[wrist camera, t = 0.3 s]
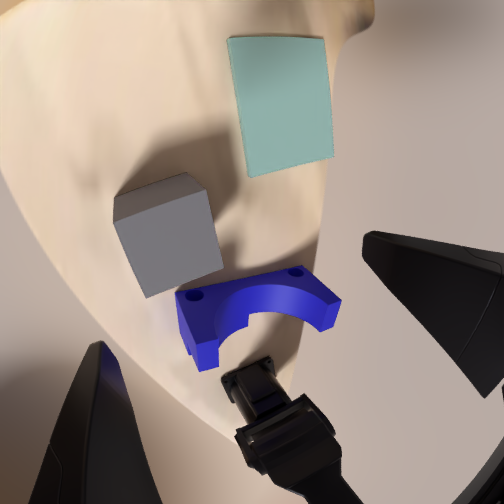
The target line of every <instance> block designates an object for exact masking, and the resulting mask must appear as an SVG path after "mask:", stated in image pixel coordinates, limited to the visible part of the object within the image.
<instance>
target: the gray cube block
mask: <svg viewBox="0 0 504 504" xmlns="http://www.w3.org/2000/svg"><path fill="white" fill-rule="evenodd" d="M113 224H114V227H115V229H116V232H117V234H118V237H119V239H120V242H121V244H122V247H123V249H124V251H125V254H126V256H127V258H128V261H129V263H130V265H131V267H132V270H133V272H134V274H135V276H136V278H137V281H138V283H139V285H140V287H141V289H142V291H143V293H144V295H145V297H146V298H149V297H151V296H154V295H156V294H159V293H161V292H164V291H166V290H169V289H172V288H174V287H177V286H179V285H182V284H184V283H187V282H190V281H192V280H195V279H197V278H200V277H202V276H205V275H207V274H210V273H212V272H215V271H218V270H220V269H223V268H224V265H223V261H222V257H221V253H220V248H219V244H218V240H217V236H216V231H215V227H214V223H213V218H212V214H211V209H210V205H209V200H208V196H207V191H206V189H205V188H204V187H203V186H201V185H200V184H199V183H198V182H197V181H196V180H195V179H194V178H192V177H191V176H190V175H189V174H188V173H187V172H186V173H183V174H180V175H177V176H174V177H170V178H167V179H164V180H161V181H158V182H155V183H153V184H150V185H147V186H144V187H141V188H138V189H136V190H133V191H130V192H127V193H125V194H122V195H119V196H117V197H114V208H113Z"/></svg>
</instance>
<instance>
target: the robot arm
mask: <svg viewBox="0 0 504 504" xmlns="http://www.w3.org/2000/svg"><path fill="white" fill-rule="evenodd" d="M362 257H363V259H364V261H365V262H366V263H367V264H368V266H369V267H370V268H371V269H372V270H373V271H374V273H375V274H376V275H377V276H378V277H379V279H380V280H381V281H382V282H383V284H384V285H385V286H386V287H387V288H388V289H389V290H390V291H391V293H392V294H393V295H394V296H395V297H397V299H398V300H399V301H400V302H401V303H402V304H403V305H404V306H405V307H406V308H407V309H408V310H409V311H410V312H411V314H412V315H413V316H414V317H415V318H416V319H417V320H418V321H419V322H420V323H421V324H422V325H423V326H424V328H425V329H426V330H427V331H428V332H429V333H430V334H431V335H432V337H433V338H434V339H435V340H436V341H437V342H438V343H439V344H440V346H441V347H442V348H443V349H444V350H445V351H446V353H447V354H448V355H449V356H450V357H451V358H452V360H453V361H454V362H455V363H456V365H457V366H458V367H459V368H460V369H461V371H462V372H463V373H464V374H465V376H466V377H467V378H468V379H469V381H470V382H471V383H472V384H473V386H474V387H475V388H476V389H477V391H478V392H479V393H480V395H481V396H482V397H483V398H486V397H487V396H488V395H489V394H490V392H492V390H493V389H494V388H495V387H496V386H497V385H498V384H499V383H500V381H501V380H502V379H503V378H504V253H500V252H493V251H486V250H481V249H476V248H470V247H465V246H460V245H455V244H449V243H444V242H438V241H433V240H427V239H422V238H416V237H411V236H405V235H398V234H392V233H386V232H380V231H371V232H368V233H366V234H365V235H364V237H363V247H362ZM221 383H222V385H223V387H224V389H225V391H226V393H227V395H228V397H229V399H230V401H231V403H236V405H237V407H238V408H239V410H240V412H241V414H242V416H243V417H244V419H245V421H246V423H247V424H248V425H246V426H244V427H242V428H238V429H236V432H237V434H236V435H235V436H234V437H235V439H236V441H237V443H238V445H239V447H240V449H241V451H242V454H243V456H244V459H245V461H246V463H247V465H248V467H250V468H254V469H256V470H257V471H259V473H260V474H261V475H265V474H268V475H269V477H270V478H271V480H272V481H273V483H274V484H275V485H277V486H279V487H282V488H284V489H286V490H288V491H290V492H293V493H295V494H297V495H300V496H302V497H304V498H305V499H306V501H307V502H308V504H363V502H362V501H361V500H360V499H359V497H358V496H357V495H356V494H355V492H354V491H353V490H352V489H351V488H350V486H349V485H348V484H347V482H346V481H345V480H344V478H343V477H342V476H341V457H342V451H341V446H340V445H339V443H338V442H337V441H336V439H335V438H334V436H335V434H336V433H335V430H334V428H333V426H332V424H331V423H330V421H329V420H328V419H327V417H326V416H325V415H324V414H323V413H322V412H321V411H320V409H319V408H318V407H317V406H316V405H315V404H314V403H313V402H312V401H311V400H310V399H309V398H308V397H307V396H306V395H305V394H302V395H300V397H299V398H297V399H295V400H293V401H291V399H290V398H289V396H288V395H287V393H286V392H285V391H284V389H283V388H282V386H281V385H280V383H279V382H278V381H277V379H276V378H275V371H274V364H273V359H272V358H271V357H266V358H264V359H262V360H260V361H258V362H256V363H254V364H252V365H250V366H248V367H245V368H243V369H241V370H239V371H237V372H234V373H232V374H230V375H228V376H225V377H223V378H222V379H221ZM502 393H503V400H504V384H503V386H502ZM251 441H253V442H251ZM28 504H163V503H162V501H161V498H160V496H159V493H158V490H157V488H156V485H155V483H154V480H153V477H152V474H151V471H150V468H149V465H148V462H147V458H146V455H145V452H144V449H143V445H142V442H141V438H140V434H139V431H138V427H137V423H136V419H135V415H134V411H133V407H132V404H131V401H130V398H129V395H128V392H127V389H126V386H125V383H124V379H123V376H122V373H121V369H120V366H119V363H118V360H117V359H116V357H115V356H114V354H113V353H112V352H111V350H110V349H109V347H108V346H107V345H106V344H105V342H104V341H98V342H95V343H92V344H90V346H89V347H88V349H87V352H86V354H85V356H84V358H83V360H82V362H81V365H80V366H79V368H78V371H77V373H76V375H75V377H74V380H73V382H72V384H71V387H70V389H69V391H68V394H67V396H66V399H65V401H64V403H63V406H62V408H61V411H60V413H59V416H58V419H57V422H56V424H55V427H54V430H53V433H52V435H51V438H50V444H48V447H47V450H46V453H45V456H44V459H43V462H42V465H41V468H40V472H39V474H38V477H37V480H36V483H35V485H34V488H33V491H32V494H31V497H30V500H29V503H28ZM452 504H504V437H503V439H502V440H501V442H500V444H499V445H498V447H497V448H496V449H495V451H494V452H493V454H492V455H491V457H490V458H489V459H488V461H487V462H486V463H485V465H484V466H483V468H482V469H481V470H480V471H479V473H478V474H477V475H476V477H475V478H474V479H473V480H472V481H471V483H470V484H469V485H468V486H467V487H466V489H465V490H464V491H463V492H462V493H461V494H460V495H459V496H458V498H457V499H456V500H455V501H454V502H453V503H452Z"/></svg>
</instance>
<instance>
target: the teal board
mask: <svg viewBox="0 0 504 504" xmlns="http://www.w3.org/2000/svg"><path fill="white" fill-rule="evenodd" d="M227 44H228V50H229V57H230V63H231V69H232V75H233V82H234V88H235V94H236V101H237V107H238V114H239V120H240V127H241V133H242V140H243V146H244V153H245V159H246V166H247V172H248V176H249V177H250V178H253V177H256V176H260V175H263V174H267V173H271V172H275V171H278V170H282V169H286V168H290V167H294V166H298V165H302V164H306V163H310V162H315V161H319V160H323V159H328V158H332V157H334V147H333V146H334V144H333V127H332V111H331V99H330V88H329V78H328V69H327V61H326V53H325V46H324V39H314V38H300V37H236V38H229V39H227Z"/></svg>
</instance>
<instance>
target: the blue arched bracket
mask: <svg viewBox="0 0 504 504" xmlns="http://www.w3.org/2000/svg"><path fill="white" fill-rule="evenodd" d="M175 299H176V307H177V314H178V322H179V329H180V334H181V336H182V339H183V342H184V344H185V347H186V349H187V352H188V354H189V355H192V356H193V359H194V361H195V363H196V366H197V368H198V370H199V372H201V371H205V370H209V369H213V368H216V367H219V351H218V348H219V347H220V345H221V344H222V342H223V341H224V340H225V339H226V338H227V337H228V336H230V335H231V334H232V333H234V332H236V331H237V330H239V329H242V328H244V327H248V319H249V314H252V313H258V312H278V313H284V314H289V315H292V316H295V317H298V318H300V319H302V320H304V321H306V322H308V323H309V324H311V325H312V326H314V327H315V328H316V329H317V330H318V331H319V332H322V331H325V330H327V329H329V328H332V327H333V326H334V323H335V320H336V317H337V314H338V311H339V308H340V304H341V301H342V300H341V299H340V298H339V297H337V296H336V295H335V294H334V293H333V292H332V291H331V290H330V289H328V288H327V287H326V286H325V285H324V284H323V283H322V282H320V280H318V279H317V278H316V277H315V276H314V275H313V274H312V273H311V272H309V271H308V270H307V269H306V268H305V267H304V266H303V265H301V266H297V267H292V268H288V269H283V270H279V271H274V272H270V273H265V274H261V275H256V276H252V277H247V278H242V279H237V280H233V281H228V282H223V283H218V284H213V285H209V286H204V287H199V288H194V289H189V290H184V291H179V292H175Z"/></svg>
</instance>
